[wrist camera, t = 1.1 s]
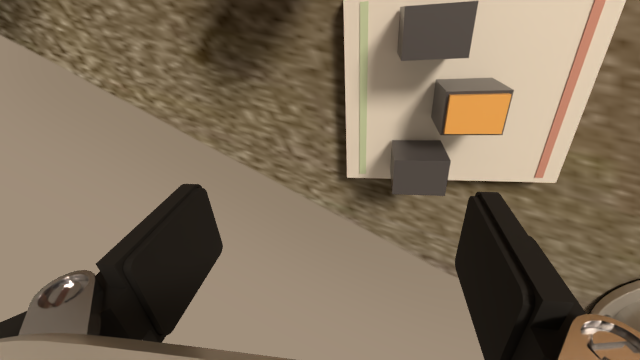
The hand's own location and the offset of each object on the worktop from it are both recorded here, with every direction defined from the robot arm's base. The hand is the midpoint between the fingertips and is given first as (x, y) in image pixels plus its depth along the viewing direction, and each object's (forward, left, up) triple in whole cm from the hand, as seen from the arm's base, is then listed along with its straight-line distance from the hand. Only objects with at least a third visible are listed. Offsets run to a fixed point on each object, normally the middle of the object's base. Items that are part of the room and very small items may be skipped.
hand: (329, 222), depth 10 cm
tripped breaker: (-8, 0, -16) cm, 18 cm away
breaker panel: (-8, 0, -19) cm, 20 cm away
